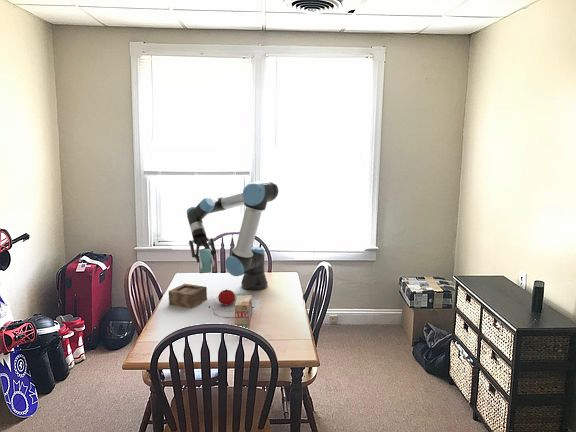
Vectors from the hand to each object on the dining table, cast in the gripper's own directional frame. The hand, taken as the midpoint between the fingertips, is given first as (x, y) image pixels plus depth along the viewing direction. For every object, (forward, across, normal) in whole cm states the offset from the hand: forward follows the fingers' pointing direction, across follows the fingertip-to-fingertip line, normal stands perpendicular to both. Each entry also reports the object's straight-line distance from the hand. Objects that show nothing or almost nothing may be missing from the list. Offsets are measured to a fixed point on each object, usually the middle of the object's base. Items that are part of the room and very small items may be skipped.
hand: (207, 266), depth 273 cm
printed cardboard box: (+42, -5, +18) cm, 46 cm away
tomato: (+24, -5, 0) cm, 25 cm away
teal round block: (0, 0, -5) cm, 5 cm away
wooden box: (+16, +13, -7) cm, 22 cm away
